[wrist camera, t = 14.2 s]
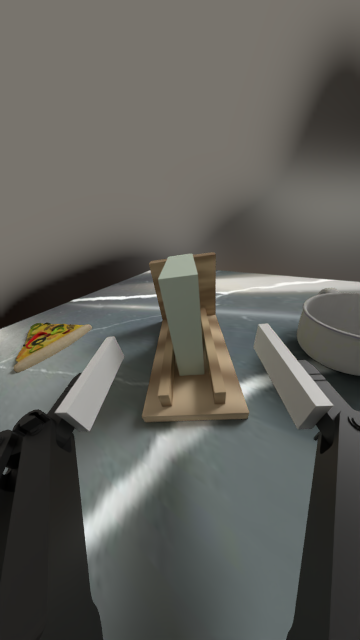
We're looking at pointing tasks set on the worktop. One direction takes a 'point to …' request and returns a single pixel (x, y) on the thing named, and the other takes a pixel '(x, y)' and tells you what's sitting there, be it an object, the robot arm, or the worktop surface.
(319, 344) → the teacup
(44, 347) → the pizza slice
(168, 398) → the track
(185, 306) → the pale green block
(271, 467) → the worktop surface
